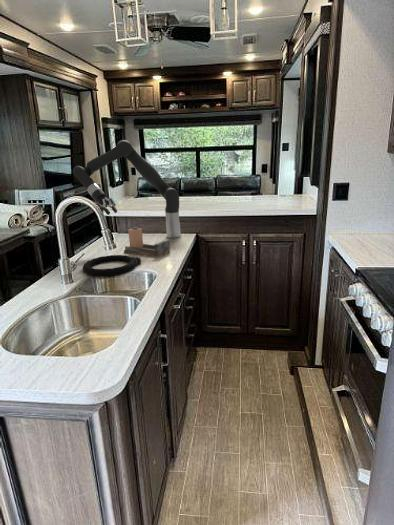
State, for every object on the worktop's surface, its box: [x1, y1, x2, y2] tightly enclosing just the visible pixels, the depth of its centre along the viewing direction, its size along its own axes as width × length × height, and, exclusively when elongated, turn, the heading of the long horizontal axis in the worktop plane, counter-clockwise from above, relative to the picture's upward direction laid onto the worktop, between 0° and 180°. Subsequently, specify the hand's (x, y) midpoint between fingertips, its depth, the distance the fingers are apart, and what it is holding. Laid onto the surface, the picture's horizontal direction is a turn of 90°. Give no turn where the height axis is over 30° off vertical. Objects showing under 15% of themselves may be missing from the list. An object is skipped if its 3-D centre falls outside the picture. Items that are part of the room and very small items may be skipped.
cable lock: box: [82, 254, 142, 277], centre depth 183 cm, size 28×4×30 cm
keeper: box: [128, 226, 144, 248], centre depth 209 cm, size 6×5×13 cm
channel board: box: [123, 239, 171, 258], centre depth 207 cm, size 12×25×8 cm, turn 60°
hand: (112, 213), depth 213 cm, fingers open, 5 cm apart
